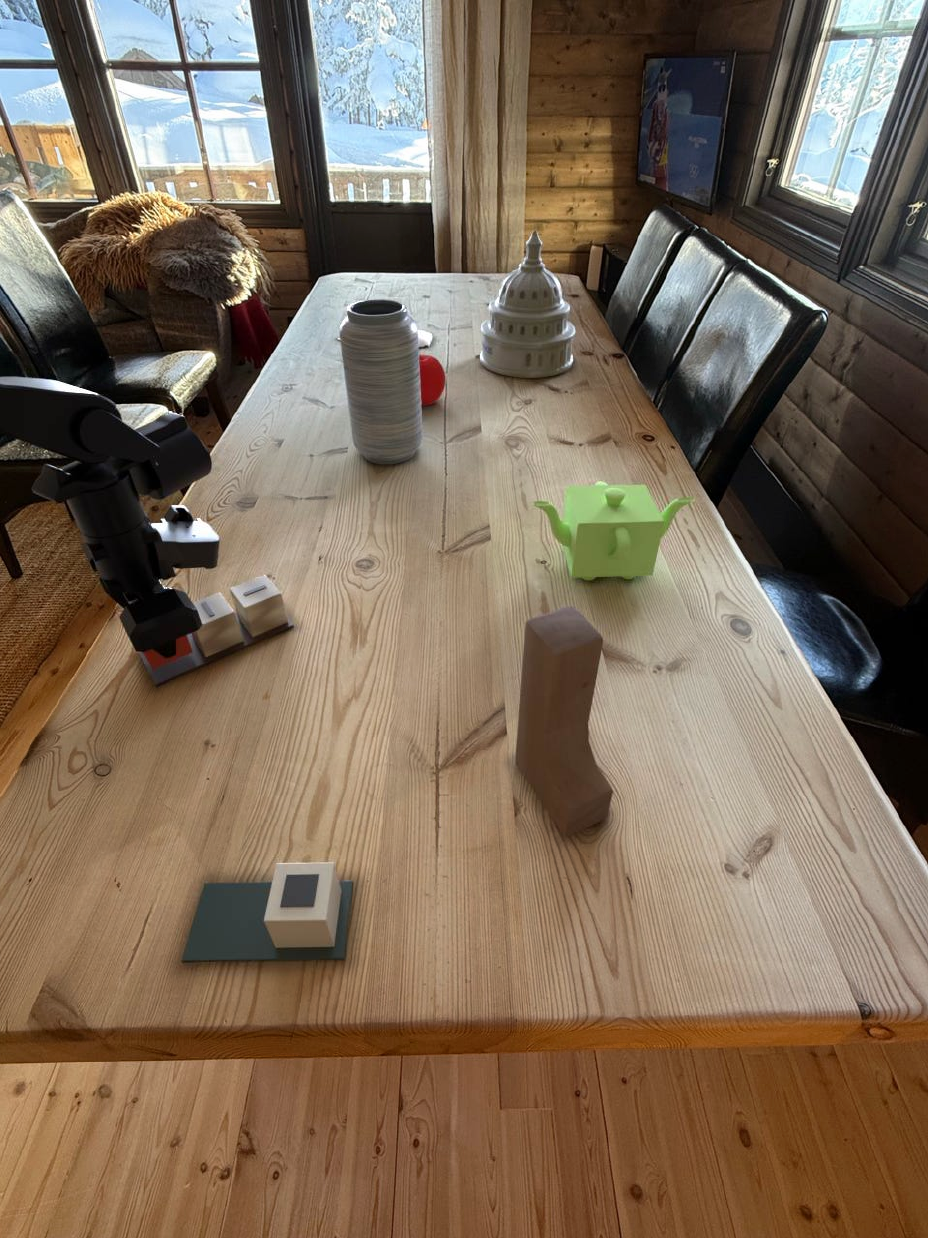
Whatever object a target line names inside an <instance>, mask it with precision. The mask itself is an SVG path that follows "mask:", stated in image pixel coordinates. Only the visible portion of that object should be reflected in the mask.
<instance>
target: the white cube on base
mask: <svg viewBox="0 0 928 1238" xmlns="http://www.w3.org/2000/svg"><path fill="white" fill-rule="evenodd" d="M274 867H275V868H274V872H273V876H272V881H260V882H259V881H257V882H256V881H254V882H253V881H252V882H251V881H249V882H203V883H204V884H203V885H202V889H201V892H200V897H199V900H198V904H197V906H196V910H195V913H194V916H193V920H192V923H191V927H190V929H189V933H188V935H187V936H188V937H187V940H186V943H185V946H184V948H183V949H184V950H183V953H182V957H181V960H180V961H181V963H182V964H186V963H191V964H194V963H248V962H250V963H254V962H255V963H256V962H312V961H313V962H317V961H318V962H319V961H322V962H323V961H324V962H325V961H345V957H346V950H347V940H348V932H349V924H350V916H351V907H352V899H353V891H354V881H353V880H339V876H338V872H337V868H336V865H335V862H277V863H275V866H274Z"/></svg>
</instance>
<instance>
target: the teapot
mask: <svg viewBox="0 0 928 1238" xmlns="http://www.w3.org/2000/svg"><path fill="white" fill-rule="evenodd" d="M695 500H696V499H695V498H694V497H679V498H676V499H674V500H673V501H671V502H670V503H668V505H667V506H666V507H665V508H664V509H663V511H662V512H660V511H659V509H658V507H657V504H656V502H655V500H654V497H653V496H652V494H651V493H650V491H649V489H648V487H647V485H646V484H611V485H609V484H607V483H606V482H605V481H597V482H596V483H595V484H594V485H575V486H571V485H570V486H565V494H564V500H563V511H562V519H561V518H560V514H559V512H558V510H557V508H556V506H555V505H554V504H553V503H551V502H548V501H543V500H541V501H539V500H537V501H533V502H532V504H531V505H532V506H534V507H537V508H539V509H540V510H541V511H543V512H544V513H545V514H546V516H547V519H548V522H549V527H550V530H551V533H552V535H553V537H554V539H555V540H556V541H557V542H558V543H559V544H560V545H561V546H562V549H563V554H564V556H565V559H566V565H567V568H568V571H569V575H570V578H572V579H573V578H574V579H575V578H576V579H577V578H580V579H582V580H584V581H593V580H595V579H597V578H606V577H620V578H622V579H624V580H633V579H635V578H636V577H640V576H643V577H644V576H653V575H654V570H655V566H656V562H657V557H658V554H659V553H658V552H659V549H660V545H661V544H660V543H661V539H662V538H664V536H665V535H666V534H667V532H668V530H669V529H670V526H671V524H672V522H673V520H674V518H675V516H676V515H677V513H678V512H679V511H680V510H681V509H683V507H685V506H686V505H687V506H688V505H689V504H691V503H694V502H695Z"/></svg>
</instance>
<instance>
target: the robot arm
mask: <svg viewBox="0 0 928 1238" xmlns="http://www.w3.org/2000/svg"><path fill="white" fill-rule="evenodd" d="M0 434H1V435H4V436H7V437H10V438H12V439H16V440H18V441H21V442H24V443H26V444H29V445H31V446H35V447H37V448H39V449H43V450H45V451H47V452H51V453H54V454H56V455H60V456H62V457H65V458H68V459H71V460H74V461H73V462H71V463H68V464H67V465H64V466H62V467H60V468H59V467H55V466H53V465H51V464H48V463H44V464H43V466H42V471H41V473H40V475H39V476H38V477H36V479H35V481H34V483H33V484H32V487H31V491H32V493H33V494H36V495H38V496H39V497H42V498H45V499H47V500H49V501H51V502H53V503H56V504H63V503H65V502H66V503H67V505H68V507H69V510H70V512H71V514H72V516H73V518H74V520H75V523H76V525H77V527H78V532H79V534H80V537H81V538H82V540H83V544H82V545H81V549H82V551H83V553H84V556H85V557H86V560H87V562H88V564H89V566H90V568H91V569H92V571H93V573H98V576H99V578H98V582H99V583H100V585H101V587H102V589H103V591H104V592H105V593H106V594H107V595H108V597H110V598H111V599H112V600H113V601H114V602H115V603H116V604H118V605H119V607H121V608H122V609H123V610H122V611H121V613H120V615H119V617H118V618H119V621H120V623H121V625H122V627H123V629H124V630H125V633H126V635H127V638H128V639H129V641H130V643H131V645H132V647H133V648H134V650H135V652H136V653H142V652H146V651H148V650H151V649H153V650H155V651H156V652H157V653H159V654H160V655H162V656H163V657H164V658H170V657H172V656H175V655H176V639H178V638H180V637H183V636H185V635H188V634H190V633H193V632H195V631H198V630H199V629H200V628H201V626H202V625H203V624H202V622H201V619H200V616H199V613H198V610H197V609H196V607H195V606H194V604H193V601H192V600H191V598H190V597H189V595H188V593H186V591H183V590H180V589H178V588H174V587H165V586H164V585H163V583H162V582H161V580H162V581H167V580H170V579H173V578H176V577H177V574H176V571H175V569H179V570H184V569H186V570H187V569H200V568H201V569H203V568H204V569H206V570H212V569H216V568H217V567H218V562H219V552H220V541H221V537H220V536H219V534H218V533H217V532H216V531H215V530H214V529H213V527H212V526H211V524H208V523H207V522H204V521H203V520H202V519H201V517H200V518H196V519H195V520H194V517H193V516H192V513H191V512H190V510H189V509H188V508H187V507H186V506H185V505H183V504H182V505H180V504H179V505H178V504H177V505H176V504H175V505H173V504H171V505H169V507H168V509H167V511H166V512H165V513H164V515H163V516H162V518H160V519H159V522H157V523H152V522H151V520H150V518H149V515H147V513H146V512H145V509H144V506H143V503H142V501H141V498H140V495H142V496H148V497H150V498H152V499H154V500H158V501H162V500H165V499H166V498H168V497H169V496H172V495H173V494H175V493H177V492H179V491H181V490H183V489H185V488H187V487H188V486H190V485H192V484H194V483H195V482H197V481H199V480H201V479H203V478H205V477H207V476H208V475H209V474H211V471H212V467H213V462H212V456H211V453H210V451H209V449H207V448H206V446H205V444H204V443H203V441H202V440H201V438H200V437H199V436H198V435H197V433H196V432H195V431H194V430H193V429H191V428H190V427H189V425H188V423H187V418H186V416H185V415H182V414H178V413H175V412H173V411H168V412H166V413H164V414H161V415H159V416H158V417H157V418H156V419H155V420H153V421H150V422H148V423H145V424H144V425H141V426H139V427H136V428H133V427H131V426H130V425H128V424H127V423H125V422H124V421H123V419H122V415H121V412H120V411H119V409H118V408H117V405H116V403H115V402H114V401H112V400H111V399H110V398H108V397H106V396H104V395H102V394H99V393H97V392H93V391H90V390H87V389H84V388H80V387H78V386H74V385H71V384H68V383H65V382H61V381H59V380H55V379H54V380H53V379H46V378H36V377H33V378H32V377H23V376H0ZM139 494H140V495H139Z"/></svg>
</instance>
